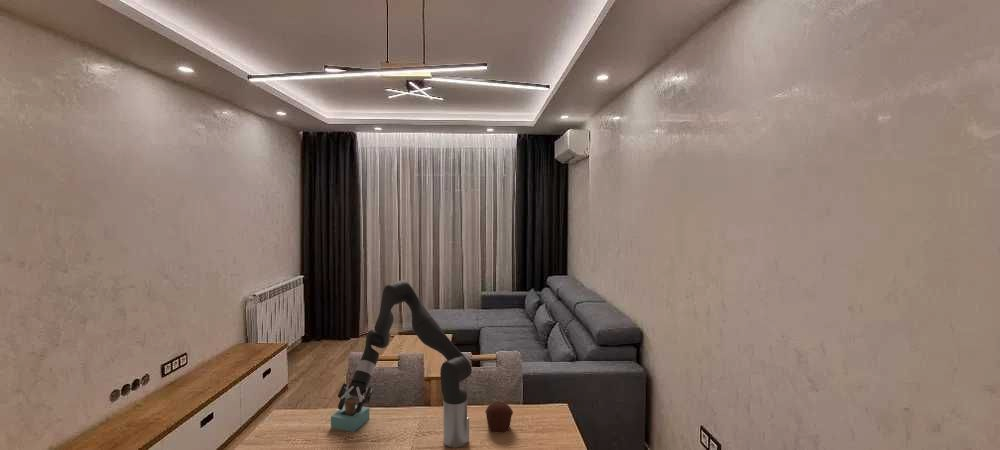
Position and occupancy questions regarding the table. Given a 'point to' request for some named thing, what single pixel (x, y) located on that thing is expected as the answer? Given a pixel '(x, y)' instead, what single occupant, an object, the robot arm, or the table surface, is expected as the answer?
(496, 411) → the muffin
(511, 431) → the table surface
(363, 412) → the socket block
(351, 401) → the peg
